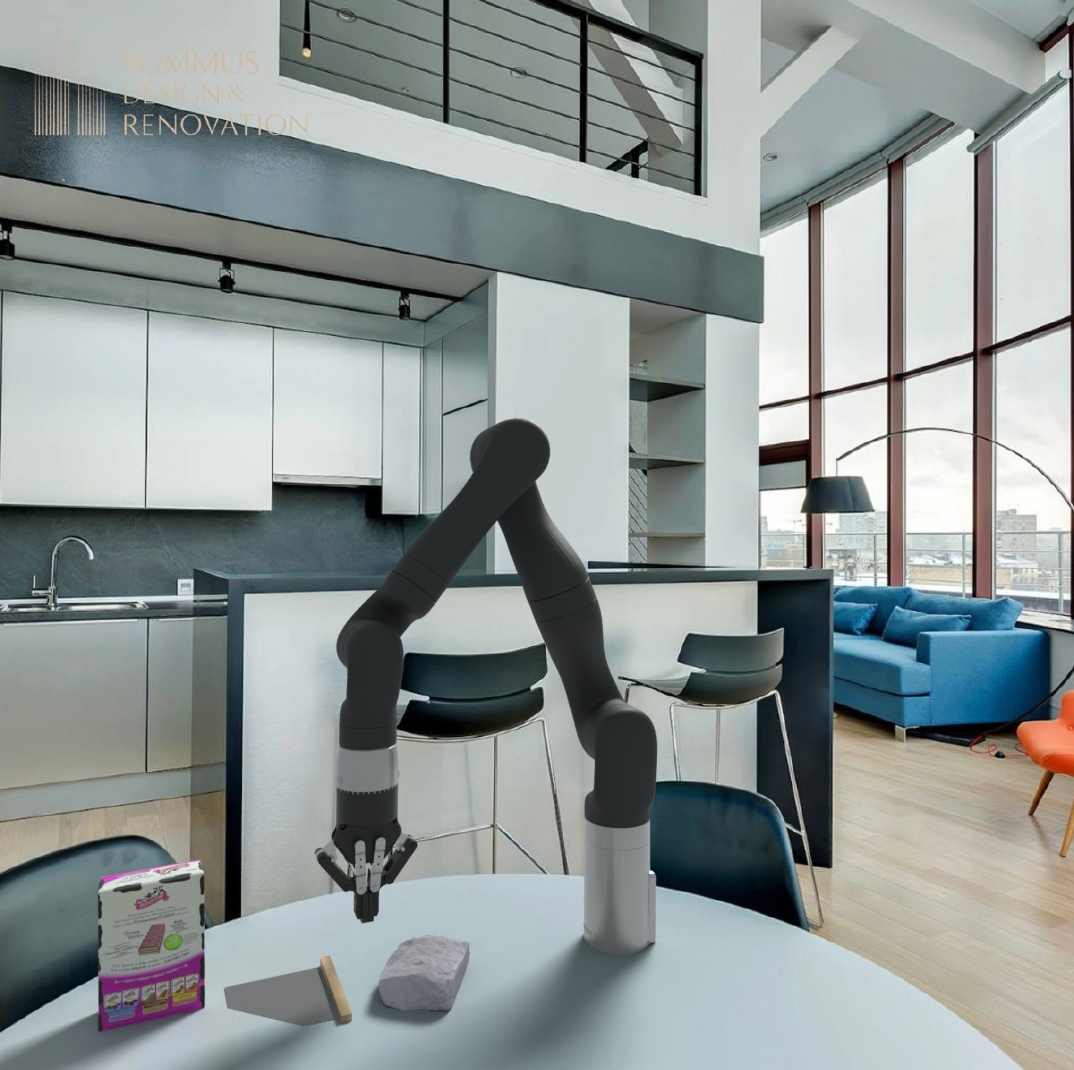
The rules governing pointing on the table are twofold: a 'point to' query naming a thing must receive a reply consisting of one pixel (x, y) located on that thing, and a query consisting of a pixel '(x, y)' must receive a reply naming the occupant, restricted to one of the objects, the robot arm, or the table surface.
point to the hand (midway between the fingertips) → (365, 919)
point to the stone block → (424, 973)
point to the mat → (283, 998)
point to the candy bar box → (151, 944)
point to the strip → (335, 989)
